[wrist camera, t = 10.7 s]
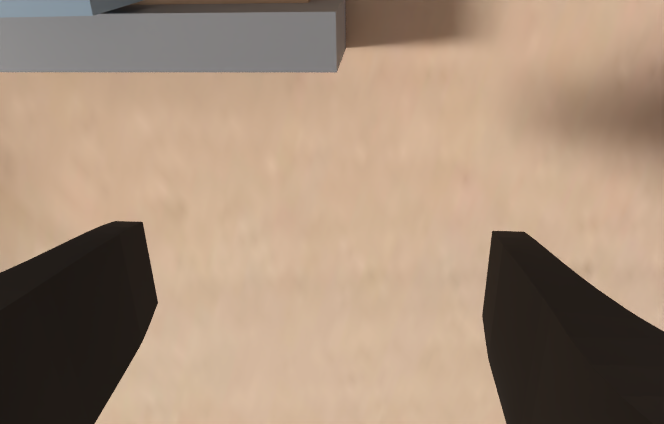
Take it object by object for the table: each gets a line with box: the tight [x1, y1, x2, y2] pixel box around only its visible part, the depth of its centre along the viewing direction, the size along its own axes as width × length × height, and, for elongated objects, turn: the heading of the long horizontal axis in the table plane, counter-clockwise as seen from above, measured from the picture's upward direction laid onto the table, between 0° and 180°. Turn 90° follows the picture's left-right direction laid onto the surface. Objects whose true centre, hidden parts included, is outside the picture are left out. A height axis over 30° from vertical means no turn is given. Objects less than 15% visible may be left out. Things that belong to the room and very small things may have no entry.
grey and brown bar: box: [0, 0, 346, 72], centre depth 18 cm, size 20×3×4 cm, turn 91°
